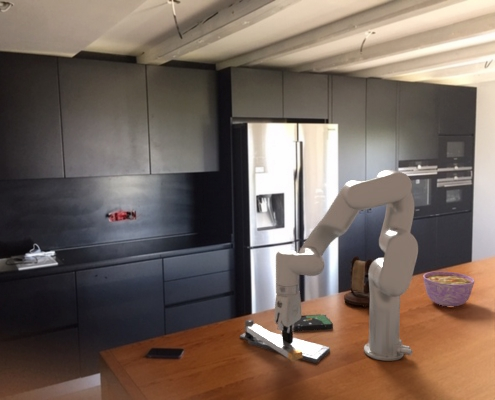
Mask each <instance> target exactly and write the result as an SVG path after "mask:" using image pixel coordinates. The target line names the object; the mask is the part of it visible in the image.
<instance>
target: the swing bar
mask: <svg viewBox="0 0 495 400" xmlns="http://www.w3.org/2000/svg"><path fill="white" fill-rule="evenodd" d="M271 332H272V331H269V330H268V329H266V328H264V327H263V326H261V325H259V324H257V323H254V319H245V321H244V333H245V335H248V336H251V335H253V336H254V337H256V338H257V339H259V340H260V341H262V342H264V343H265V344H267V345H268V346H270V347H271V348H273V349H274V350H276V351H278V352H279V353H278V352H277V353H278V354H281V355H282V356H284V357H285V358H287V359H288V360H290V361H291V362H293V361H296V360H301V359H300V358H303V351H301V350H300V349H298V348H296V347H294V346H293V345H291V344H289V343H288V342H286V341H284V340H283V339H281V338H279V337H277V336H276V335H274V334H272V333H271Z"/></svg>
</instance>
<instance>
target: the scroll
mask: <svg viewBox="0 0 495 400" xmlns="http://www.w3.org/2000/svg"><path fill="white" fill-rule="evenodd" d="M372 262H373V260H372V258H368V259H366V261H364V260H363V261H362V260H360V257H359V256H357V255H355V256H353V258H352V259H351V260H350V271H349V274H350V276H351V278H350V282H349V283H350V292H347V293H345V294H344V295H343V300H344V303H346V304H347V303H349V304H351V305H356V306H363V309H366V307H367V306H370V288H369V268H370V265H371V264H372ZM365 278H367V279H368V280H367V281H366V282H365Z"/></svg>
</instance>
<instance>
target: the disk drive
mask: <svg viewBox="0 0 495 400" xmlns="http://www.w3.org/2000/svg"><path fill="white" fill-rule="evenodd" d="M333 328H334V324H333V322H332V321H331V319H330V318H329V317H328V316H327V314H307V315H301V319H300V320H298V321H297V322H295V323H294V330H293V333H294V332H297V333H298V332H309V331H312V332H313V331H314V332H315V331H328V330H329V331H330V330H332V331H333Z"/></svg>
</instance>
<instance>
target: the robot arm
mask: <svg viewBox="0 0 495 400" xmlns="http://www.w3.org/2000/svg"><path fill="white" fill-rule="evenodd" d="M412 184H413V183H412V179H410V177H409V176H408V175H407V174H406V173H405V172H402V171H397V170H395V169H394V170H392V169H386V170H385V169H384V170H382V171H380V172H379V173H378V174H377V175H376V177H375V178H371V179H369V180H364V181H361V180H355V179H353V180H349V181H347V182H346V183H345V184H344V185H343V186H342V187H341V189H340V190H339V192H338V194H337V195H336V197H335V198H334V200H333V202H332V203H331V205H330V206H329V208H328V209H327V211H326V212H325V214H324V215H323V217H322V219H321V220H320V221H319V222H318V224H317V225H316V226H315V227H314V229H313V230H312V231H311V233H309V235H308V237H307V238H306V239H305V241H304V243H303V244H302V246H301V247H300V249H299V251H298V252H297V251H296V250H293V249H292V250H291V249H284V250H283V249H282V250H279V251H277V252H276V255H275V294H276V296H275V302H274V323H275V324H276V325H277V328H276V329H277V330H279V331H280V332H281V335H282V339H283V340H284V341H286V342H288V343H289V344H291V343H292V342H293V338H294V323H295V322H297V321H298V320H300V319H301V316H302V299H301V294H300V293H301V292H300V275H301V276H306V277H315V276H318V275H320V274H322V273H323V271H324V269H325V261H324V258H323V255H324V253H325V252H326V251H327V249H328V247H329V246H330V245H331V243H332V242H333V241H335V240H336V239H337V238H340V237H341V236H343V235H345V233H347V232H348V230H349V228H350V227H351V225H352V224H353V222H354V221H355V219H356V217H357V215H358V214H359V213H360V211H365V210H370V209H374V208H379V207H381V206H386V208H385V213H384V215H385V216H384V219H383V224H382V227H381V231H380V234H379V235H380V236H379V237H378V246H379V248H380V250H381V251H382V252H383V253H384V256H383V257H378V258H376V259H374V260H372V264H371V265H370V268H369V273H368V275H369V278H368V280H369V288H370V305H369V310H368V311H369V312H368V313H369V321H368V322H369V324H368V342H367V343H366V344H365V345H364V346H363V352H364V353H365V355H367V356H368V357H370V358H371V359H375V360H379V361H386V362H391V361H398V360H401V359H402V358H403V357H404V355H406V356H412V355H413V350H412V349H411V346H409V345H404V344H403V340H402V339H400V321H401V320H400V319H401V317H400V315H401V296H402V295H404V294H405V293H406V292H407V290H409V287H410V285H411V282H412V280H413V279H412V278H413V276H414V270H415V266H416V263H417V260H418V259H417V258H418V256H419V255H418V253H419V245H418V244H419V243H418V241H417V239H416V238H415V236H414V235H413V234H412V233H411V229H412V225H413V220H414V215H415V199H414V196H413V193H412V188H413V185H412Z"/></svg>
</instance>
